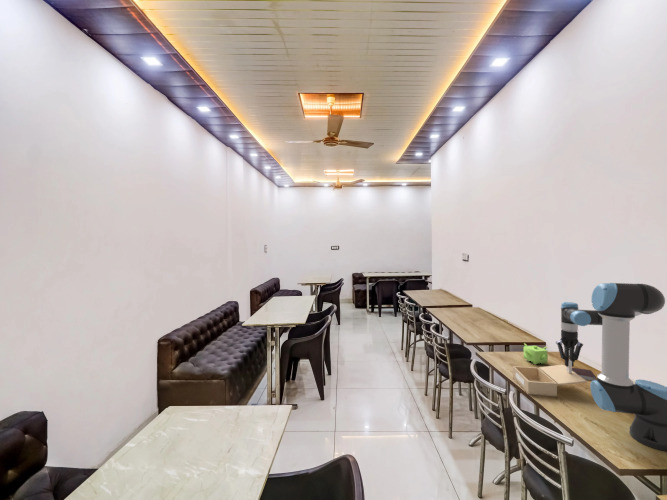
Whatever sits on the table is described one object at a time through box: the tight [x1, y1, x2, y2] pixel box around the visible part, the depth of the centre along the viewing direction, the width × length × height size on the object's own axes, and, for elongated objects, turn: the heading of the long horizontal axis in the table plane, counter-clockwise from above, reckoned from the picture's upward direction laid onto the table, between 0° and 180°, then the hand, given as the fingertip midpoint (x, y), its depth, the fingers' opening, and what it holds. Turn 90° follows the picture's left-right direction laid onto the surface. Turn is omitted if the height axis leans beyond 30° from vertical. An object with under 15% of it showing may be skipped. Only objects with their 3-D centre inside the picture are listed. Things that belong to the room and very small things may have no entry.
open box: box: [512, 365, 558, 397], centre depth 181 cm, size 22×14×7 cm, turn 170°
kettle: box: [523, 343, 549, 365], centre depth 218 cm, size 15×14×11 cm
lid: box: [538, 364, 588, 386], centre depth 179 cm, size 23×13×1 cm, turn 170°
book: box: [553, 364, 597, 381], centre depth 197 cm, size 12×19×3 cm, turn 64°
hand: (569, 372), depth 178 cm, fingers closed
